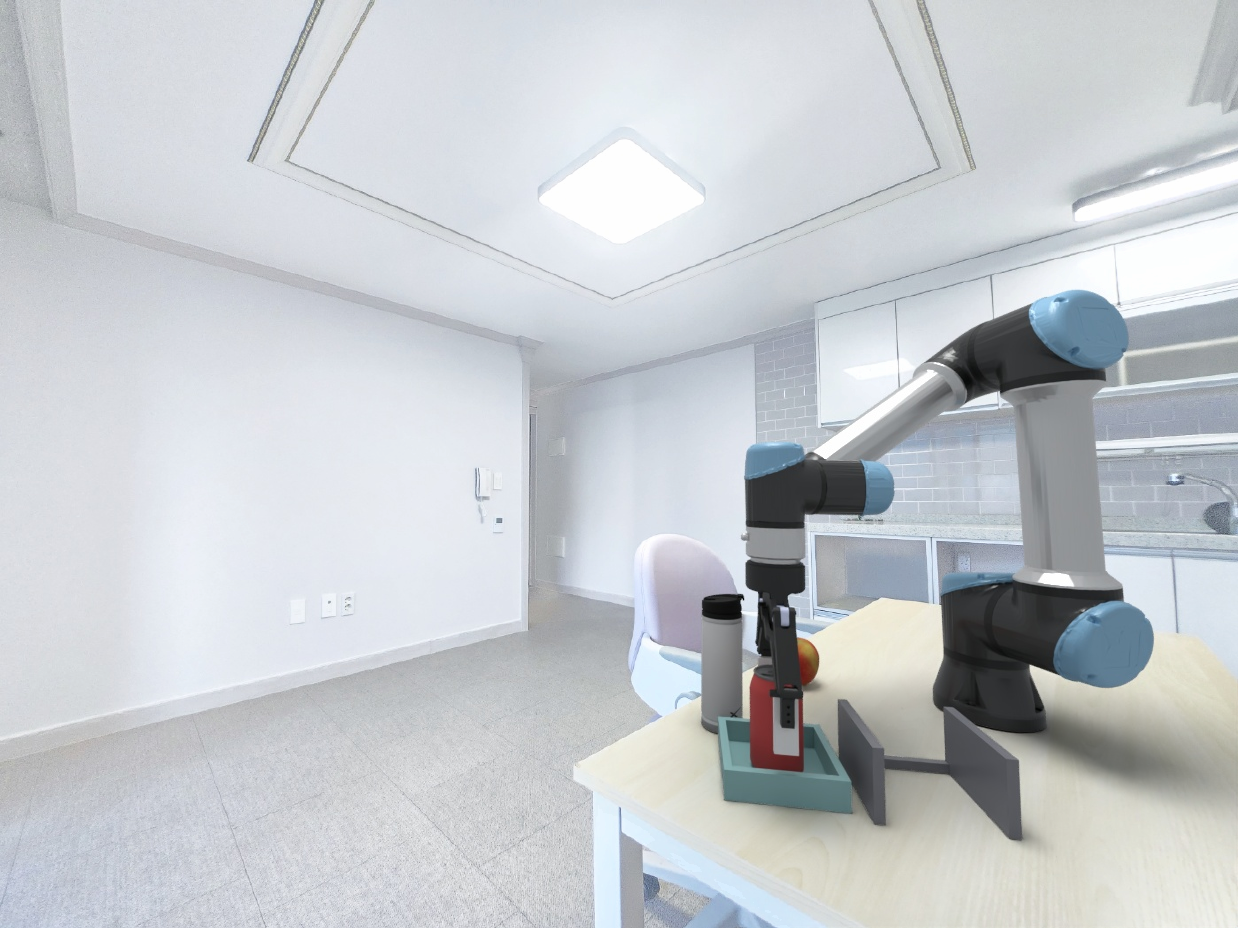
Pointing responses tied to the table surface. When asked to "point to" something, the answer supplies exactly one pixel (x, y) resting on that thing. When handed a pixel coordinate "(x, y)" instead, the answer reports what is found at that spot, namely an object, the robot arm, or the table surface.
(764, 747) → the beer can
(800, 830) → the table surface
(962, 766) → the bay
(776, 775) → the tray
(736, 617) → the travel mug
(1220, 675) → the table surface
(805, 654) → the apple
